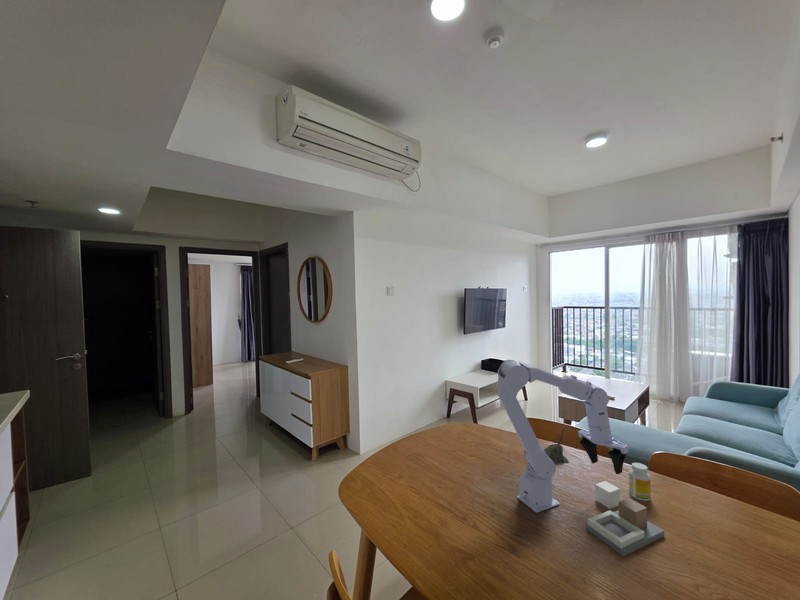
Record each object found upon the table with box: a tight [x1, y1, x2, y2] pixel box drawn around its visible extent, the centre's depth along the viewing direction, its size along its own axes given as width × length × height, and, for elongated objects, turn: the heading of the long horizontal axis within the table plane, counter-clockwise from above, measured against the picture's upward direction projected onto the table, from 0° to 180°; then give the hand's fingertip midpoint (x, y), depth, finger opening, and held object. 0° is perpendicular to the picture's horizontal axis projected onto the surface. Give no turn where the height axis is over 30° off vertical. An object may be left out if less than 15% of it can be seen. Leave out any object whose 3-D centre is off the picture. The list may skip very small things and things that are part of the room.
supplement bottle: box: [628, 462, 652, 502], centre depth 99 cm, size 5×5×10 cm
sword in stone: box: [543, 427, 570, 464], centre depth 123 cm, size 10×8×12 cm
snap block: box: [594, 480, 621, 510], centre depth 97 cm, size 4×4×5 cm
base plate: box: [585, 497, 665, 557], centre depth 84 cm, size 16×10×6 cm, turn 112°
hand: (606, 467), depth 97 cm, fingers open, 7 cm apart
